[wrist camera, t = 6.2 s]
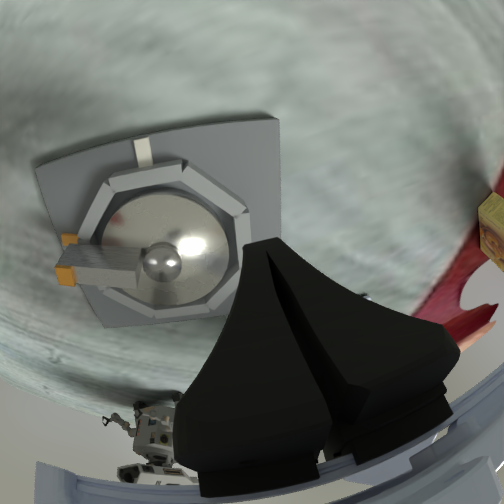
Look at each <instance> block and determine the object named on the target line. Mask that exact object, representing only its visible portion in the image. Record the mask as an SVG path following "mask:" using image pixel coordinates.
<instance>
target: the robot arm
mask: <svg viewBox="0 0 504 504" xmlns="http://www.w3.org/2000/svg"><path fill="white" fill-rule="evenodd" d="M242 250H243V260H242V268H241V273H240V279H239V283H238V287H237V291H236V294H235V298H234V301H233V304H232V307H231V310H230V313H229V315H228V318H227V321H226V323H225V325H224V328H223V330H222V332H221V334H220V336H219V338H218V340H217V342H216V344H215V346H214V348H213V350H212V352H211V354H210V355H209V357H208V359H207V360H206V362H205V364H204V365H203V367H202V369H201V370H200V372H199V374H198V375H197V377H196V378H195V380H194V381H193V382H192V384H191V385H190V387H189V388H188V389H187V391H186V392H185V393H184V395H183V396H182V398H181V399H180V400H179V402H178V403H177V404H176V409H175V414H174V421H173V430H172V439H173V452H174V460H175V461H176V462H177V463H179V464H180V465H182V466H184V467H187V468H189V469H191V470H194V471H196V472H197V473H198V481H199V485H148V484H134V483H124V482H115V481H108V480H100V479H95V478H89V477H85V476H80V475H76V474H74V473H72V472H70V471H68V470H65V469H62V468H59V467H56V466H52V465H49V464H45V463H42V462H39V461H38V462H36V472H35V494H34V495H35V496H34V497H35V498H34V499H35V500H34V501H35V503H34V504H222V503H233V502H242V501H250V500H257V499H263V498H269V497H275V496H279V495H285V494H289V493H293V492H297V491H302V490H306V489H309V488H313V487H316V486H320V485H324V484H327V483H330V482H333V481H336V480H339V479H342V478H343V479H344V480H346V481H349V482H355V483H361V484H367V485H373V486H374V487H372V488H369V489H366V490H364V491H361V492H358V493H356V494H353V495H350V496H347V497H345V498H341V499H338V500H336V501H332V502H329V503H326V504H501V500H502V495H503V489H502V487H501V484H500V481H499V478H498V476H497V473H496V471H497V470H498V469H499V468H500V467H501V466H502V464H503V463H504V363H503V364H501V365H500V366H499V367H498V368H497V369H496V370H494V371H493V372H492V373H491V374H489V375H488V376H487V377H486V378H485V379H483V380H482V381H481V382H480V383H478V384H477V385H475V386H474V387H473V388H471V389H470V390H469V391H467V392H466V393H465V394H463V395H462V396H460V397H459V398H457V399H456V400H454V401H453V402H451V403H450V404H448V402H447V400H446V398H445V396H444V394H445V393H446V392H447V389H446V387H445V385H444V383H443V380H444V379H445V378H446V377H447V375H448V374H449V373H450V371H451V370H452V369H453V367H454V366H455V365H456V363H457V361H458V360H459V357H460V352H461V351H460V349H459V347H458V346H457V344H456V343H455V341H454V340H453V338H452V337H451V336H450V334H449V333H448V332H447V330H446V329H445V328H444V327H443V326H442V325H441V324H437V323H433V322H430V321H426V320H422V319H419V318H415V317H411V316H408V315H405V314H403V313H400V312H397V311H394V310H391V309H389V308H386V307H384V306H381V305H379V304H377V303H375V302H372V301H371V297H370V296H364V297H362V296H360V295H358V294H356V293H354V292H352V291H350V290H348V289H346V288H345V287H343V286H341V285H339V284H338V283H336V282H335V281H333V280H332V279H330V278H329V277H327V276H326V275H324V274H323V273H321V272H320V271H319V270H317V269H316V268H314V267H313V266H312V265H311V264H309V263H308V262H307V261H305V260H304V259H303V258H302V257H300V256H299V255H298V254H297V253H296V252H294V251H293V250H292V249H291V248H290V247H289V246H288V245H286V244H285V243H284V242H283V241H282V240H281V239H280V238H278V237H274V238H270V239H266V240H261V241H257V242H253V243H248V244H245V245H244V246H243V247H242ZM449 425H450V426H449ZM448 426H449V428H448V433H447V434H446V435H445V436H443V437H442V438H440V439H438V440H437V441H436V442H434V440H435V438H436V435H437V433H438V432H440V431H442V430H443V429H445V428H446V427H448ZM433 442H434V443H433ZM320 450H323V452H324V456H325V459H326V462H324V463H320V464H317V463H318V456H319V453H320ZM316 464H317V465H316Z"/></svg>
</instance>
